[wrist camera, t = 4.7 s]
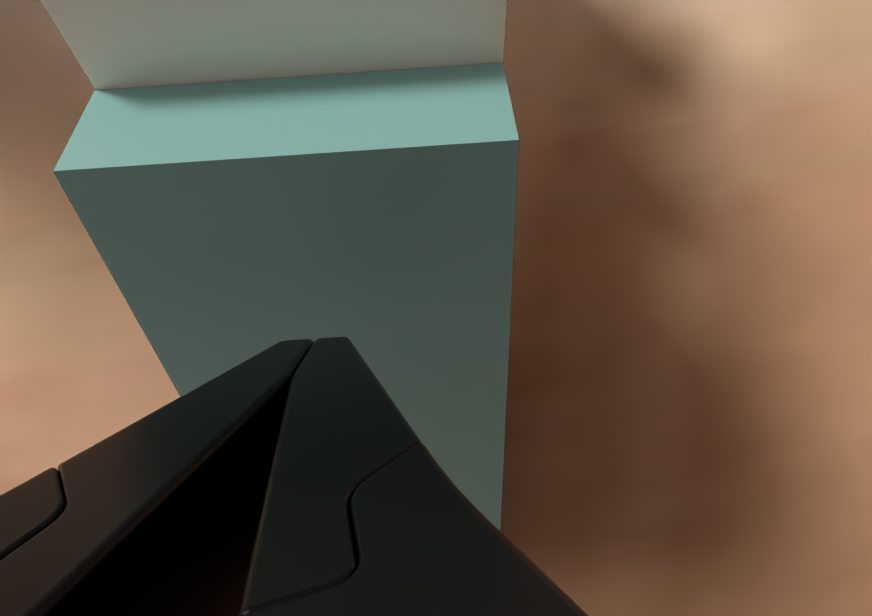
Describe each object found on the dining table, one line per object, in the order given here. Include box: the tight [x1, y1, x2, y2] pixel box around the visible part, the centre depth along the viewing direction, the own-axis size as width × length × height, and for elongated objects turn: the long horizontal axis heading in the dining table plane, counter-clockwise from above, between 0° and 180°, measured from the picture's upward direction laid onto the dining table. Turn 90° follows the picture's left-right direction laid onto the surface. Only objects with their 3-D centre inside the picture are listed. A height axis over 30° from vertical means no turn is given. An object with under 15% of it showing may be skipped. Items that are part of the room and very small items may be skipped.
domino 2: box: [53, 63, 519, 530], centre depth 12 cm, size 2×5×10 cm, turn 93°
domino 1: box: [40, 0, 507, 90], centre depth 12 cm, size 2×5×10 cm, turn 94°
